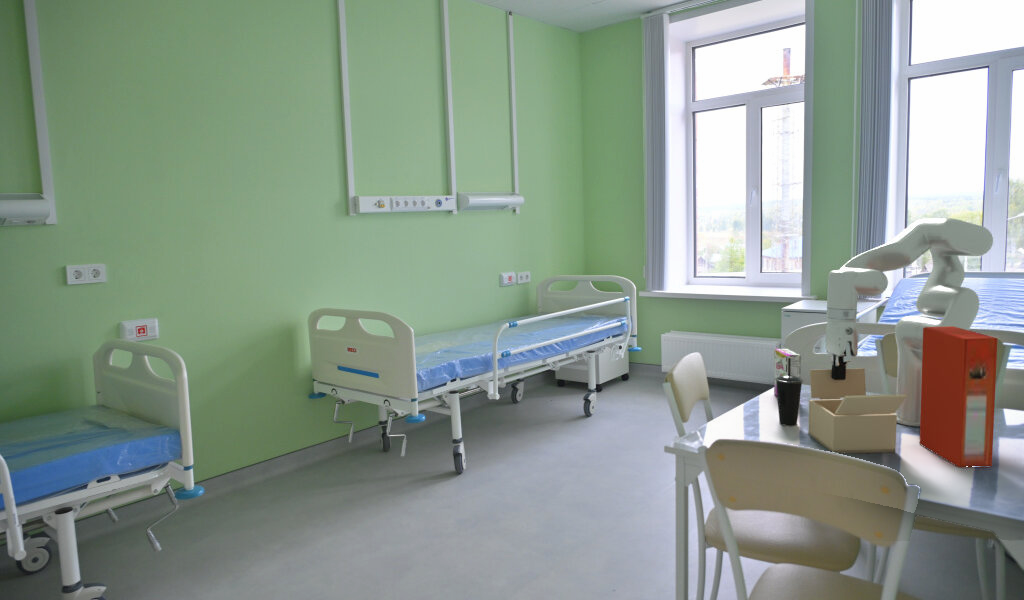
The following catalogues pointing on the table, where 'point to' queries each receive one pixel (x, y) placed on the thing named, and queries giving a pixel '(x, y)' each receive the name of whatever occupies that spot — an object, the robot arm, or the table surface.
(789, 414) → the drinking cup
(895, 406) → the flap
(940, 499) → the table surface
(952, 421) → the file binder
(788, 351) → the candy bar box
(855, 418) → the carton
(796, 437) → the table surface
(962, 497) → the table surface
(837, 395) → the flap
